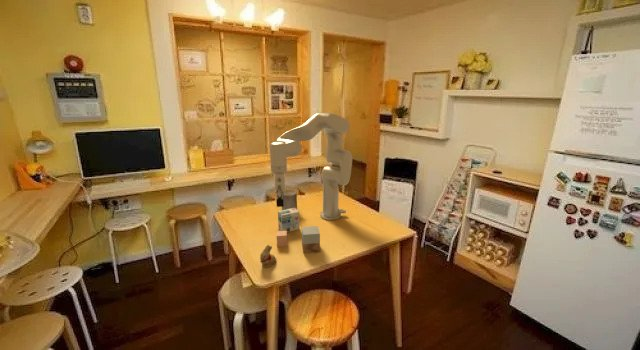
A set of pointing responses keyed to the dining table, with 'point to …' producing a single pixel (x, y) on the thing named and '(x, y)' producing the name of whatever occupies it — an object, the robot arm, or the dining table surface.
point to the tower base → (311, 247)
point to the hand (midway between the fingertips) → (280, 202)
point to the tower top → (310, 235)
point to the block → (281, 238)
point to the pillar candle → (289, 199)
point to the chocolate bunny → (267, 257)
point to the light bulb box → (288, 220)
